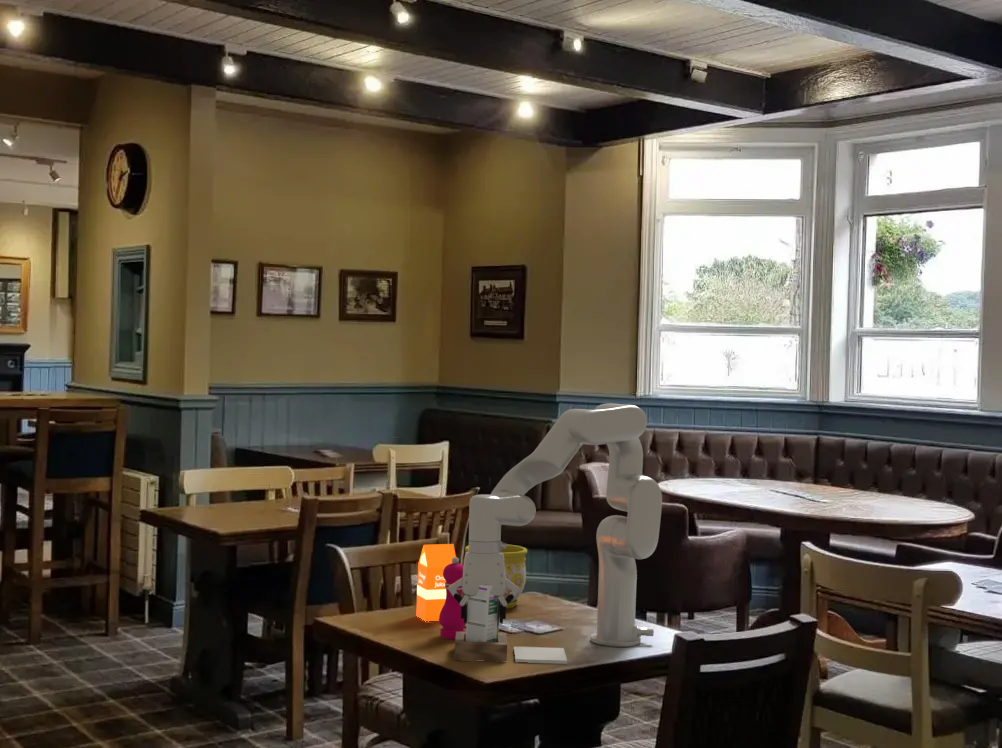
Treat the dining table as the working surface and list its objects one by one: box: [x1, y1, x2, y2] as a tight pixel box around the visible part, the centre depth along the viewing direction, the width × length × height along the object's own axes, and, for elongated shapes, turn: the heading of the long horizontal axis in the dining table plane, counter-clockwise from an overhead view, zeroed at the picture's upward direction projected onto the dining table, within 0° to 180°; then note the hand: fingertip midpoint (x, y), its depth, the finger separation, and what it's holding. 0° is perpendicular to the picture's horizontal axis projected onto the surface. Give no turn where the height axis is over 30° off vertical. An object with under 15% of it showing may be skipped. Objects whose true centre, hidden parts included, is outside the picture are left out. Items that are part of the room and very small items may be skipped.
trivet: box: [513, 646, 568, 665], centre depth 265 cm, size 12×12×1 cm
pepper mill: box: [438, 556, 467, 640], centre depth 283 cm, size 7×7×20 cm
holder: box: [454, 631, 508, 662], centre depth 265 cm, size 12×12×4 cm
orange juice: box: [415, 543, 457, 623], centre depth 304 cm, size 8×9×20 cm
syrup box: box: [465, 584, 500, 642], centre depth 265 cm, size 6×6×14 cm
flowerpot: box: [464, 543, 528, 610], centre depth 325 cm, size 18×18×16 cm
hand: (483, 621), depth 265 cm, fingers closed on syrup box, 8 cm apart
